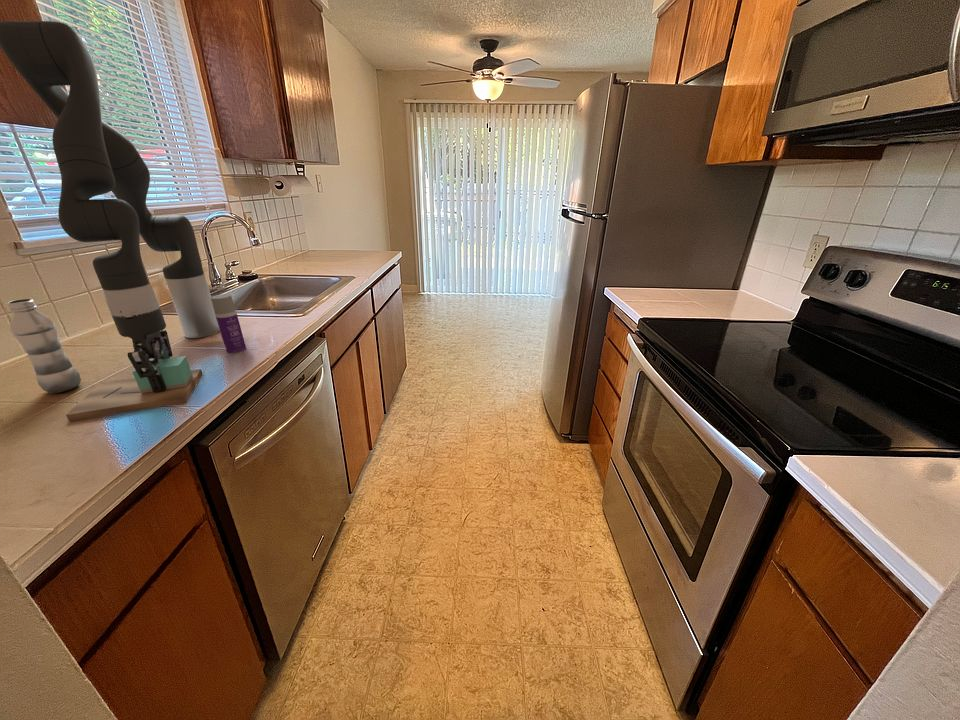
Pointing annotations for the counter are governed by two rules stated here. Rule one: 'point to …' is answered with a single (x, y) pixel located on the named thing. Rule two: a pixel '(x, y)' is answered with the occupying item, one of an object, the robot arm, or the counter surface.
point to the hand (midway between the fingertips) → (164, 385)
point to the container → (228, 324)
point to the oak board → (128, 398)
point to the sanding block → (168, 374)
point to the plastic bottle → (42, 347)
